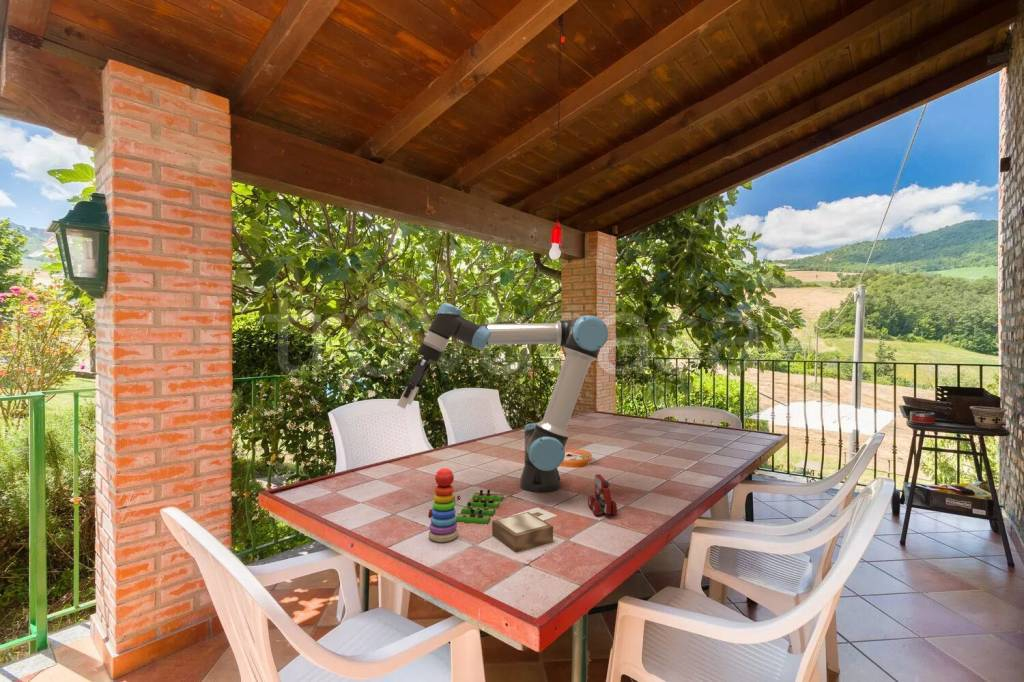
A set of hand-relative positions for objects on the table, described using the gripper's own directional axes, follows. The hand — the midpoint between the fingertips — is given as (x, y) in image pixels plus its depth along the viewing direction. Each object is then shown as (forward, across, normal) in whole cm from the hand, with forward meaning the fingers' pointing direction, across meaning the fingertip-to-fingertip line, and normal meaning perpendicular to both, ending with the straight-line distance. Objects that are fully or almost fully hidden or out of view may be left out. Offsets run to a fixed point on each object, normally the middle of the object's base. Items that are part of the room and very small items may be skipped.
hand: (404, 405), depth 153 cm
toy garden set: (+21, +4, +34) cm, 40 cm away
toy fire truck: (+2, +11, +72) cm, 72 cm away
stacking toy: (+24, +25, +28) cm, 45 cm away
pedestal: (+15, +28, +47) cm, 57 cm away
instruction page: (+12, +13, +51) cm, 54 cm away
